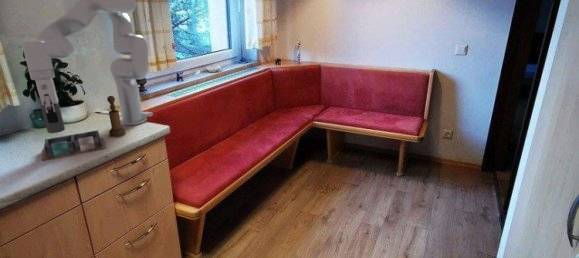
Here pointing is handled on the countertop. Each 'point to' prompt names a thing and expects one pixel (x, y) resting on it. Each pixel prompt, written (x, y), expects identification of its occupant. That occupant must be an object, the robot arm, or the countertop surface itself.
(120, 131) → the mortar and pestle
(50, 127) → the bottle
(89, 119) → the countertop surface
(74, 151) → the socket block
